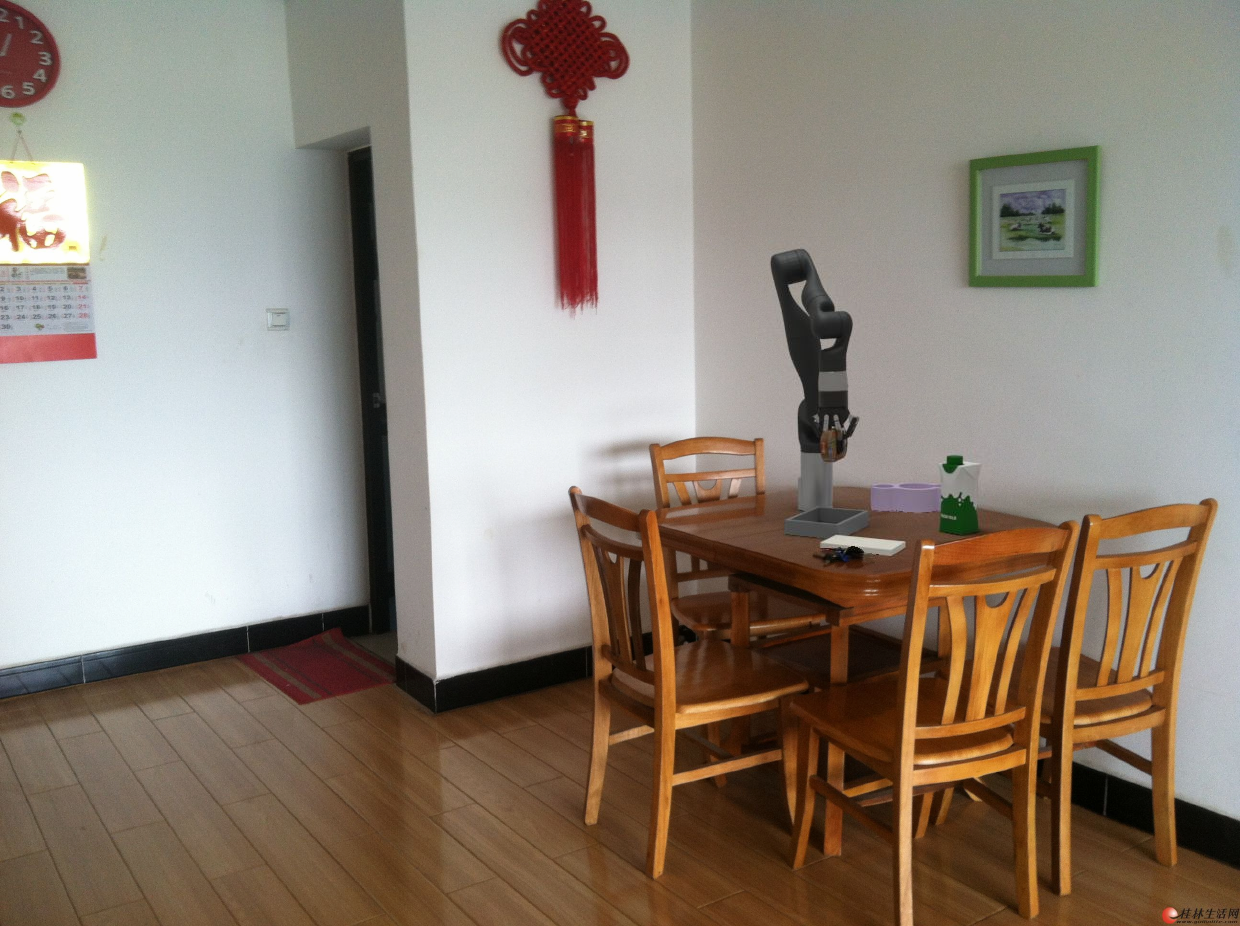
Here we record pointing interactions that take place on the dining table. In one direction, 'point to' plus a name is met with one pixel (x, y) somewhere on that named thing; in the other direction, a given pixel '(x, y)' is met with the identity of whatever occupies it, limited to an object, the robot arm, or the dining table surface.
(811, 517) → the bin
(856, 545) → the cream board
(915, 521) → the dining table surface
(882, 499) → the clip
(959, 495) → the milk carton
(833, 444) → the tin
